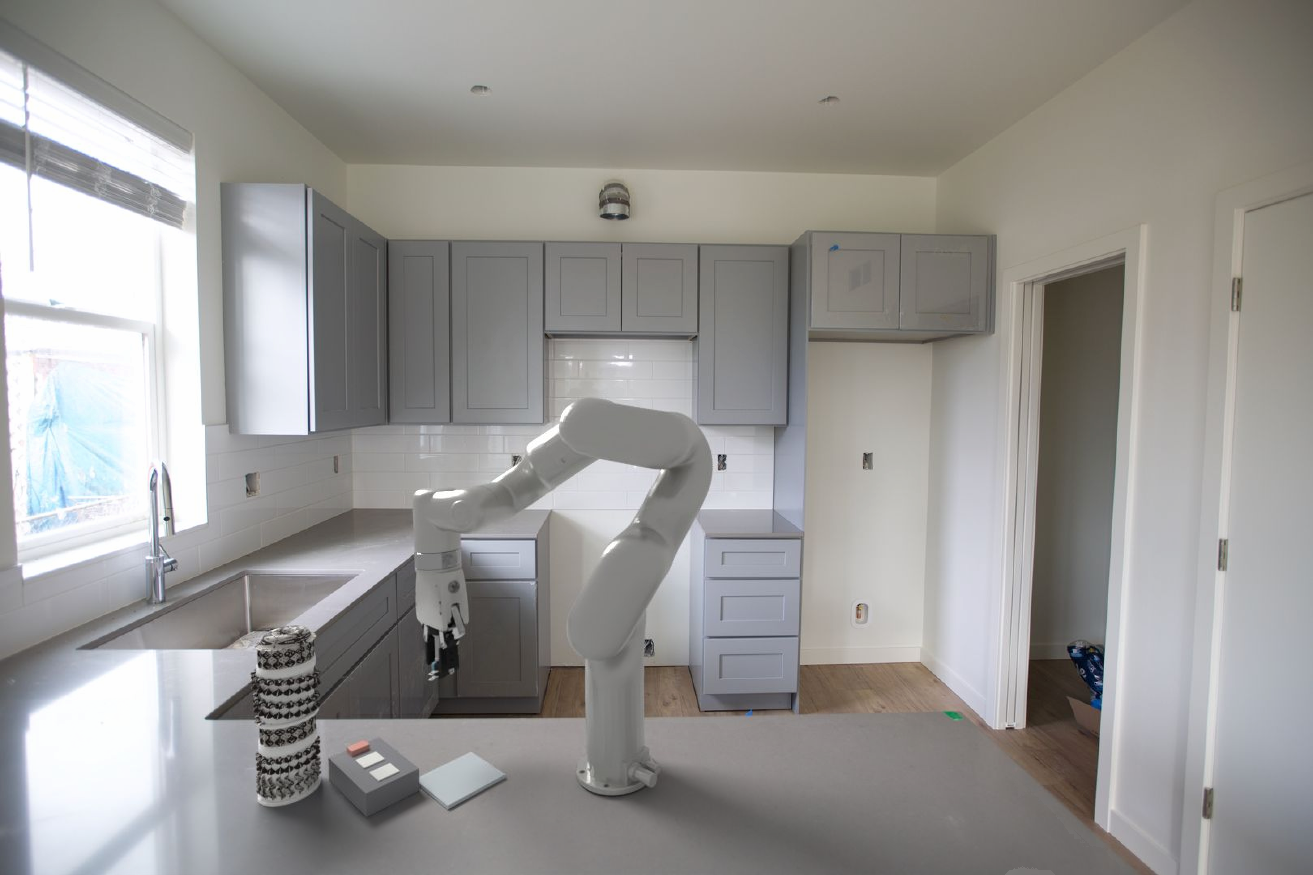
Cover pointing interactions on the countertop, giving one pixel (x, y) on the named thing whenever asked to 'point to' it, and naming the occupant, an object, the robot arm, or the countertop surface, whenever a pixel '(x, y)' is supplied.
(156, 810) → the countertop surface
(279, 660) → the decorative candle
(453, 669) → the push button
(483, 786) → the pale blue mat
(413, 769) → the power strip
